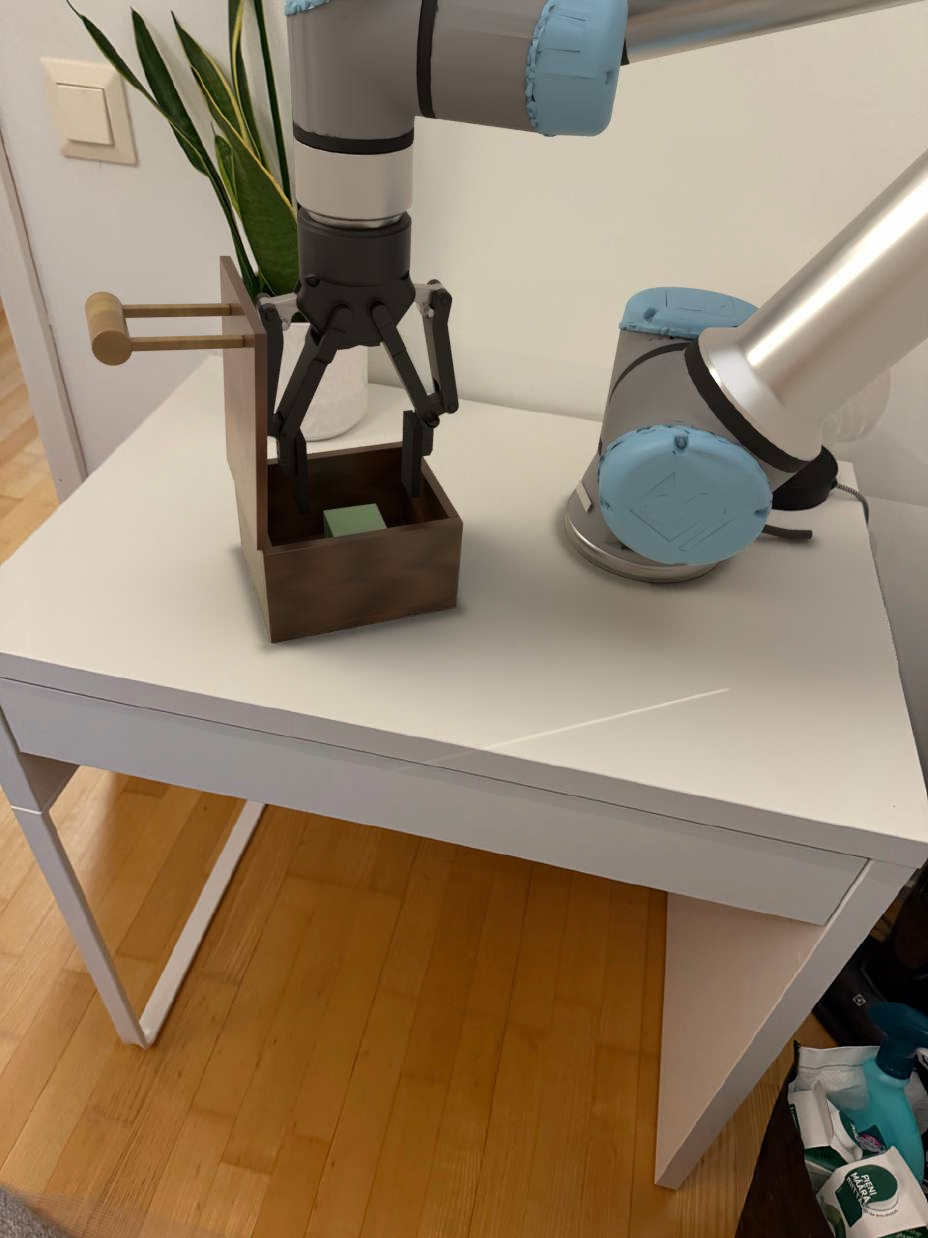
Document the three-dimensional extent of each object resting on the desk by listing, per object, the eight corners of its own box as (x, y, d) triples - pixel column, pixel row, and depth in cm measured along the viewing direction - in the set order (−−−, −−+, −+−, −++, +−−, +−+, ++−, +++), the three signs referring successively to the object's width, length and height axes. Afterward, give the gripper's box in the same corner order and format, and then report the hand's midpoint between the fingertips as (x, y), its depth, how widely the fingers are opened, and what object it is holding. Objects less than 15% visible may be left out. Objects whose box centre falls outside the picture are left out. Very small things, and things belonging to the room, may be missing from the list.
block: (375, 545, 83) (375, 503, 80) (389, 577, 80) (390, 534, 77) (324, 553, 82) (323, 510, 79) (336, 585, 79) (335, 542, 76)
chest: (410, 521, 88) (413, 439, 82) (456, 607, 79) (463, 522, 73) (241, 548, 83) (231, 463, 77) (271, 643, 74) (262, 555, 68)
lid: (230, 255, 66) (76, 254, 63) (267, 333, 58) (91, 337, 54) (236, 458, 77) (105, 467, 73) (267, 549, 68) (120, 565, 65)
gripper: (484, 182, 67) (462, 454, 82) (179, 196, 60) (216, 489, 75) (525, 219, 62) (494, 502, 77) (196, 238, 55) (233, 544, 70)
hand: (356, 496), depth 76 cm, fingers open, 8 cm apart
